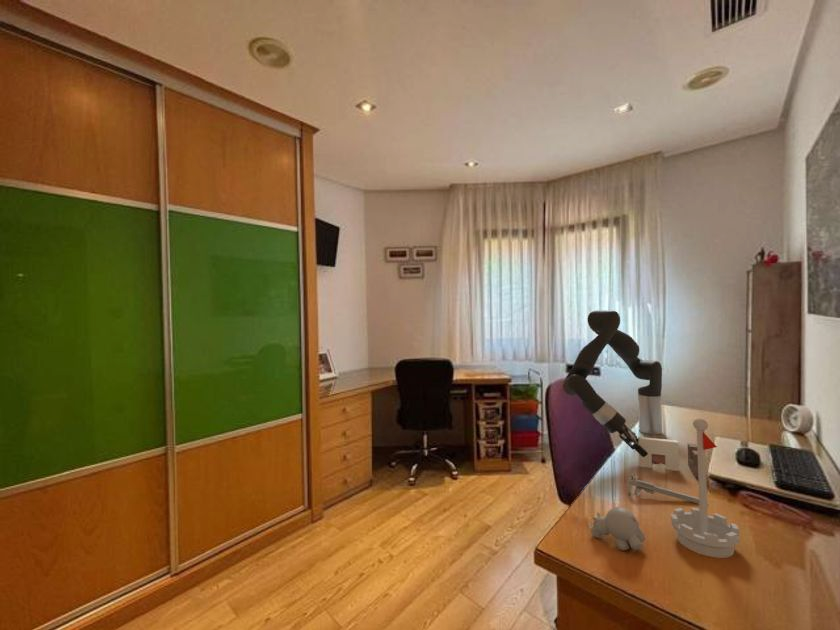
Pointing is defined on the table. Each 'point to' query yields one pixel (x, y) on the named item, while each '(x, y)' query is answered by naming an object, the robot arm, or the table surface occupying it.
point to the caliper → (657, 490)
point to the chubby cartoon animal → (619, 528)
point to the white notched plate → (660, 452)
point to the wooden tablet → (658, 459)
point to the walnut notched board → (693, 459)
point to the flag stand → (704, 513)
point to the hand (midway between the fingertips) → (644, 451)
